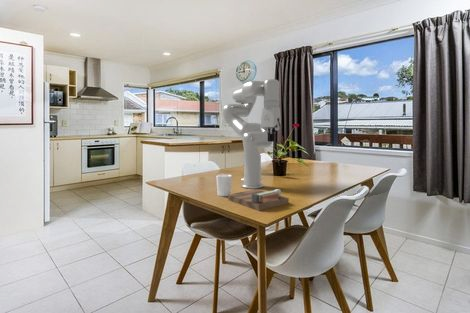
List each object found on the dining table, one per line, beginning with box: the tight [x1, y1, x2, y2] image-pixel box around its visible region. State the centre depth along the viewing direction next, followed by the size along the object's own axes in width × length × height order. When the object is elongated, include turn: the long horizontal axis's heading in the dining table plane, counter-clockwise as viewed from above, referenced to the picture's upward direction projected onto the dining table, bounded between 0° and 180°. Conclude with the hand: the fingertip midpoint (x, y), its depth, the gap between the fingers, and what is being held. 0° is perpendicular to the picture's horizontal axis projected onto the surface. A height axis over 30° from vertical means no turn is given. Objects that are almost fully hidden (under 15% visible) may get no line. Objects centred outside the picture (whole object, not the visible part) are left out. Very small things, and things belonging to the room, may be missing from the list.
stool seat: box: [227, 188, 290, 211], centre depth 132 cm, size 22×18×6 cm
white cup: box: [215, 173, 233, 197], centre depth 145 cm, size 8×8×10 cm
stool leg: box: [252, 188, 282, 203], centre depth 126 cm, size 16×3×3 cm, turn 129°
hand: (270, 141), depth 146 cm, fingers closed
